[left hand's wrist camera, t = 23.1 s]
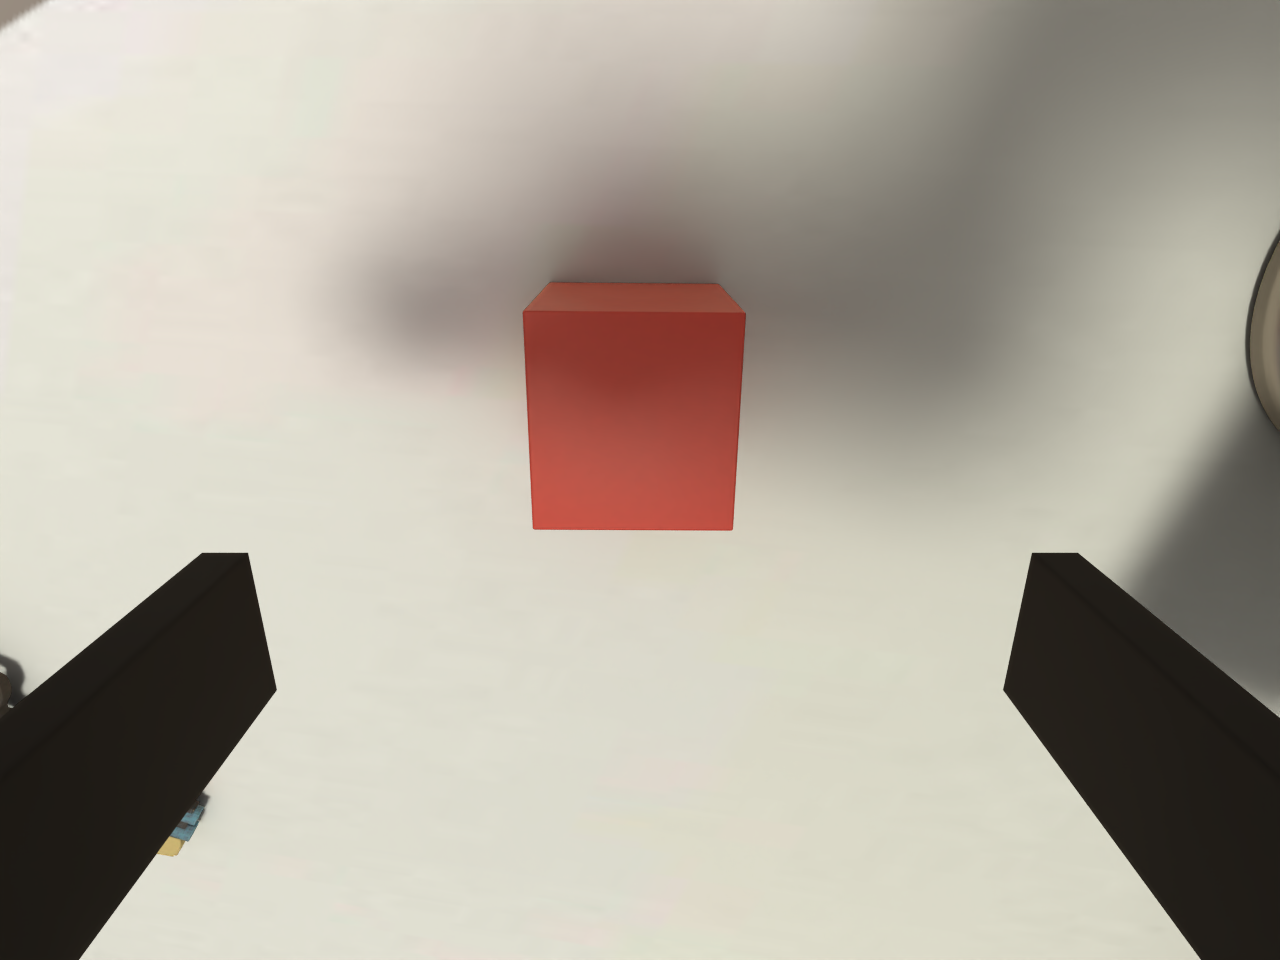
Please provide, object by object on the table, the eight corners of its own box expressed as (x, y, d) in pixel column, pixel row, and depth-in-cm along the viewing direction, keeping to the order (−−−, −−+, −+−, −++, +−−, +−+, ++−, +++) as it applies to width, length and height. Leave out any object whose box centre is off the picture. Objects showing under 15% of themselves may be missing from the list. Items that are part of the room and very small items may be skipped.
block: (554, 455, 32) (532, 530, 25) (548, 282, 29) (522, 310, 22) (711, 456, 32) (733, 531, 25) (719, 283, 29) (746, 312, 22)
